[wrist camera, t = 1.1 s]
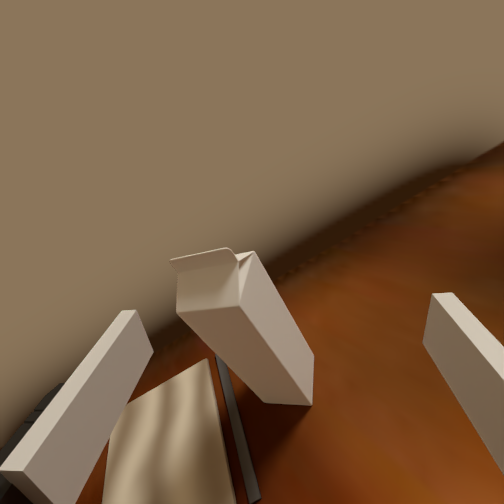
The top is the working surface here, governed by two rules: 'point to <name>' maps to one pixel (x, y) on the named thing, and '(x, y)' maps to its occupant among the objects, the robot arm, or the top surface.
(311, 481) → the top surface
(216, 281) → the milk
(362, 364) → the top surface
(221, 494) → the mat
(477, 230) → the top surface
